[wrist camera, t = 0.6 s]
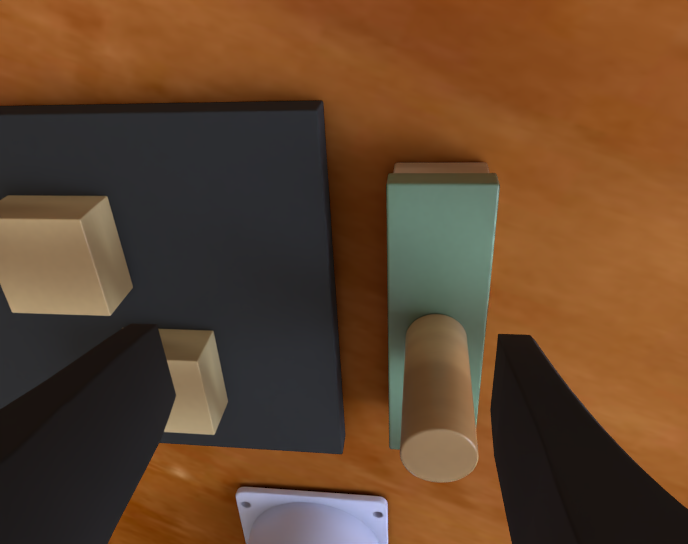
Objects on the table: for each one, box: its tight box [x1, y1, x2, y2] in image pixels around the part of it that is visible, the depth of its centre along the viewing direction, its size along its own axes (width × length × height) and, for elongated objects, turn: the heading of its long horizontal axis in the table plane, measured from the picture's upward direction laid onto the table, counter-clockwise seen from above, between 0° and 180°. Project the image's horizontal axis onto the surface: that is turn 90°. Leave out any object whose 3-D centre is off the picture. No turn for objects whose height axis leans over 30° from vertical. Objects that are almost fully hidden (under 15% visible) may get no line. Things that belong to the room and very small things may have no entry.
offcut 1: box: [0, 195, 133, 316], centre depth 21 cm, size 4×4×2 cm
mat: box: [0, 101, 345, 454], centre depth 24 cm, size 16×20×1 cm
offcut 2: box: [158, 329, 228, 435], centre depth 24 cm, size 4×4×2 cm
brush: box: [386, 162, 500, 482], centre depth 20 cm, size 12×4×8 cm, turn 3°
